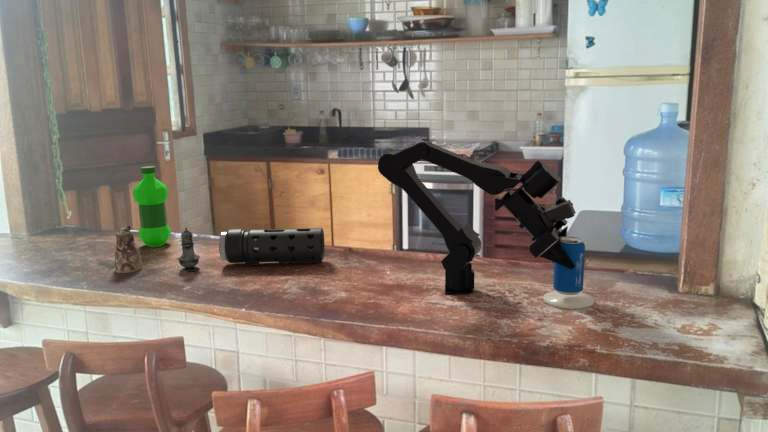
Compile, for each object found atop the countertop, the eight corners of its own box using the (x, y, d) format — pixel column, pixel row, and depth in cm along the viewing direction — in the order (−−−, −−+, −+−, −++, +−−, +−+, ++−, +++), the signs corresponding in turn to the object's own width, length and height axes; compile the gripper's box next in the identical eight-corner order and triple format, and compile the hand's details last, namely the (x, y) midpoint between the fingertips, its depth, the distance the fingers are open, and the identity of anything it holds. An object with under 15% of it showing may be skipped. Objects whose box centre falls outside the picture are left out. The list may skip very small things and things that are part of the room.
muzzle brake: (321, 268, 180) (319, 231, 178) (219, 270, 181) (216, 233, 179) (325, 258, 190) (323, 223, 187) (228, 260, 190) (225, 225, 188)
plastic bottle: (162, 249, 205) (154, 169, 200) (132, 248, 207) (123, 169, 202) (179, 241, 214) (171, 165, 209) (150, 240, 217) (142, 164, 212)
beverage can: (567, 298, 144) (570, 244, 141) (546, 290, 149) (548, 238, 147) (589, 292, 147) (591, 240, 144) (567, 285, 152) (570, 234, 150)
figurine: (109, 271, 182) (104, 229, 179) (126, 264, 188) (122, 223, 186) (130, 273, 180) (125, 230, 177) (147, 266, 186) (143, 225, 184)
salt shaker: (187, 274, 177) (183, 231, 175) (174, 271, 181) (170, 228, 178) (205, 269, 182) (201, 226, 179) (192, 266, 185) (188, 224, 183)
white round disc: (547, 309, 144) (547, 306, 144) (540, 292, 154) (540, 290, 154) (599, 309, 143) (599, 306, 143) (588, 292, 153) (588, 290, 153)
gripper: (547, 195, 136) (600, 251, 134) (559, 181, 153) (606, 231, 151) (508, 229, 141) (559, 284, 139) (524, 212, 158) (570, 261, 156)
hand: (575, 263), depth 146 cm, fingers closed on beverage can, 6 cm apart
